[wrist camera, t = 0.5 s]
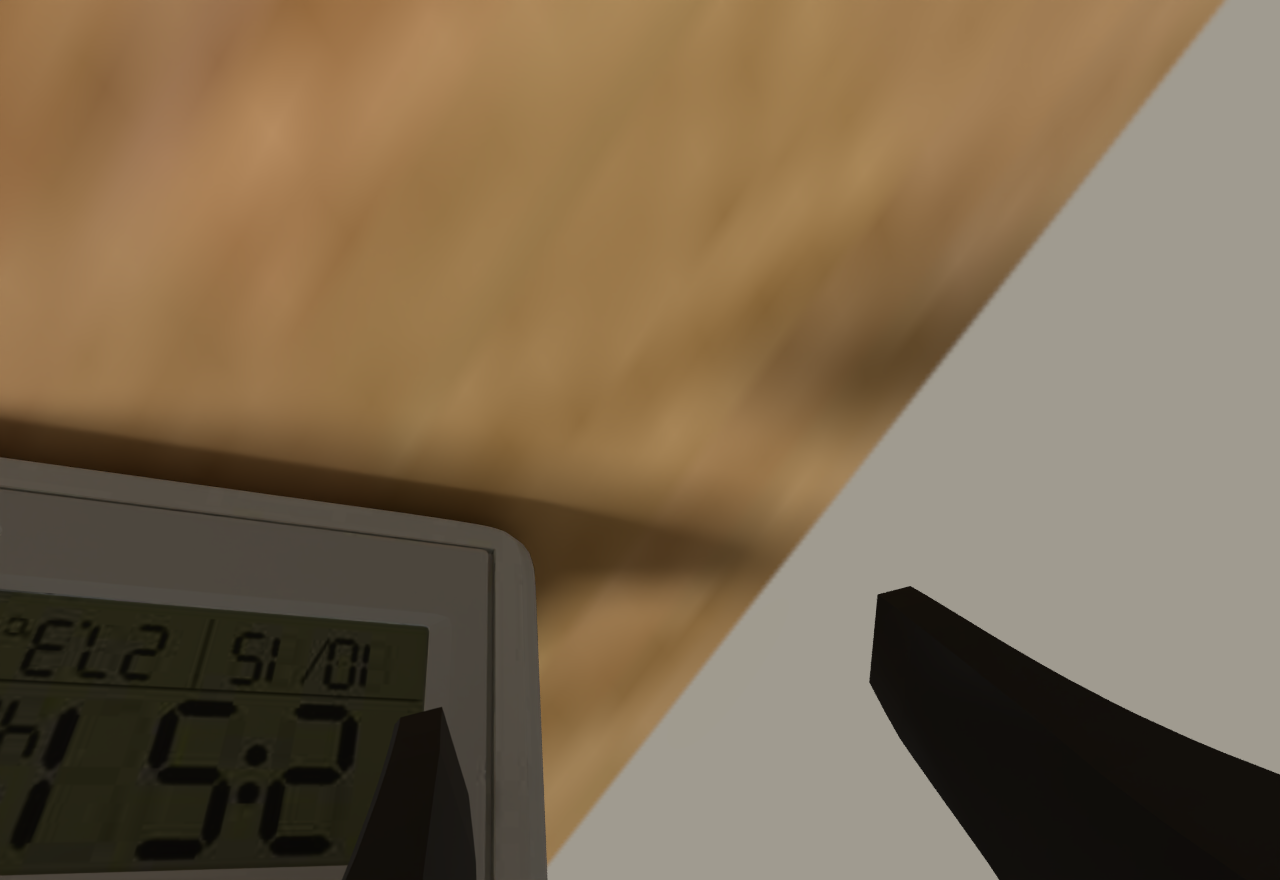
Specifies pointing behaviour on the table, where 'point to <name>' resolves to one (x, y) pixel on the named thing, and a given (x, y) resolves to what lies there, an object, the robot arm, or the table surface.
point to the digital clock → (248, 677)
